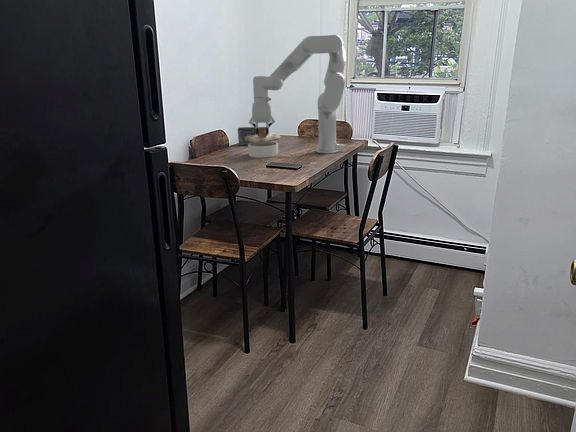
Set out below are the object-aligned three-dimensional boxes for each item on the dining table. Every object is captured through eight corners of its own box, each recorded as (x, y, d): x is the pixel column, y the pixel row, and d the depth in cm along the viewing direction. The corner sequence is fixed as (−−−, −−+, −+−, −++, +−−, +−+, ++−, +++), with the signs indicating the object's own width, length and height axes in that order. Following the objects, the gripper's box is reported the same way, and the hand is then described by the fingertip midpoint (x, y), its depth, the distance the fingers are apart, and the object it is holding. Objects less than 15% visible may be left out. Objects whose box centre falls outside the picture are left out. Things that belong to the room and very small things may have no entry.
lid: (279, 135, 284) (279, 124, 282) (281, 141, 266) (280, 129, 264) (245, 136, 283) (244, 125, 282) (244, 142, 265) (243, 130, 264)
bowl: (277, 151, 285) (277, 140, 283) (278, 157, 270) (278, 145, 268) (249, 152, 285) (248, 141, 283) (248, 158, 269) (247, 147, 268)
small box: (257, 144, 310) (256, 126, 307) (256, 146, 304) (255, 128, 301) (240, 144, 311) (239, 126, 308) (238, 146, 305) (237, 128, 302)
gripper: (276, 99, 272) (277, 133, 278) (245, 100, 272) (247, 134, 277) (277, 100, 265) (278, 136, 271) (244, 101, 265) (246, 137, 270)
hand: (262, 135), depth 274 cm, fingers closed on lid, 4 cm apart
